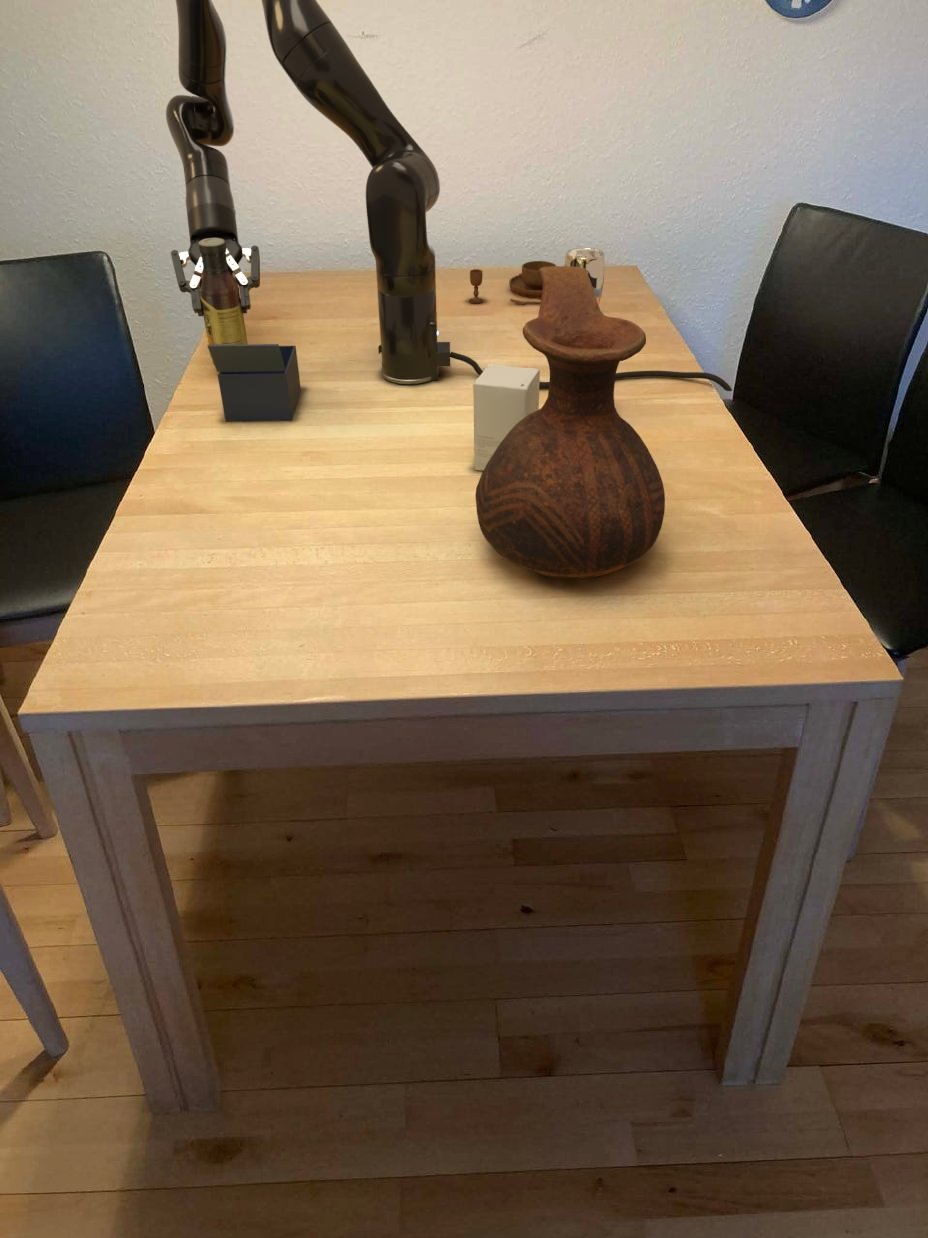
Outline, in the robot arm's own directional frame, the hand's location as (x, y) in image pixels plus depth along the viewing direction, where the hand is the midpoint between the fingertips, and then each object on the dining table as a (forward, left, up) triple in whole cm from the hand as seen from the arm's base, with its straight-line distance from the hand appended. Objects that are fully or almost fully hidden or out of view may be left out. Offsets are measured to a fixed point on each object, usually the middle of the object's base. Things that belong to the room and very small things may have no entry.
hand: (222, 312), depth 148 cm
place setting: (-50, -44, -11) cm, 67 cm away
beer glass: (-59, -16, -11) cm, 62 cm away
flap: (-7, +18, 0) cm, 19 cm away
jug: (-49, +54, -11) cm, 74 cm away
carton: (-7, +11, -11) cm, 17 cm away
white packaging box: (-43, +31, -11) cm, 55 cm away
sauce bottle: (0, -2, -10) cm, 10 cm away
